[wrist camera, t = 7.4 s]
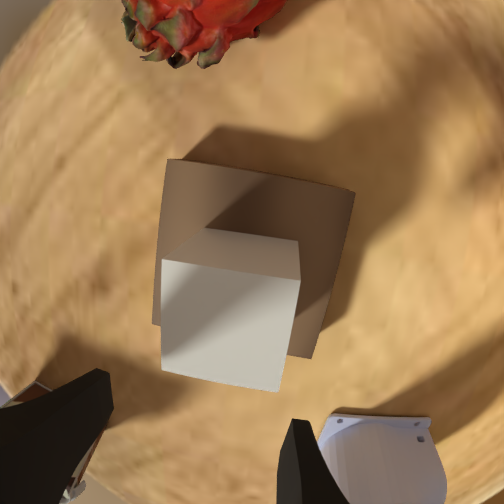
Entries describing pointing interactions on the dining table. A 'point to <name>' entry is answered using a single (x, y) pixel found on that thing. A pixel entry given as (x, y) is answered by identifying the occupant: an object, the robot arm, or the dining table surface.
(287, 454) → the robot arm
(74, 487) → the food container
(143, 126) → the dining table surface
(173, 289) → the ceramic block
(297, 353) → the block
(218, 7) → the dragon fruit
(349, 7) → the dining table surface
